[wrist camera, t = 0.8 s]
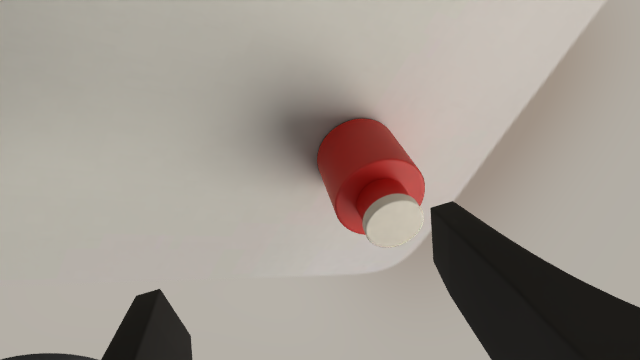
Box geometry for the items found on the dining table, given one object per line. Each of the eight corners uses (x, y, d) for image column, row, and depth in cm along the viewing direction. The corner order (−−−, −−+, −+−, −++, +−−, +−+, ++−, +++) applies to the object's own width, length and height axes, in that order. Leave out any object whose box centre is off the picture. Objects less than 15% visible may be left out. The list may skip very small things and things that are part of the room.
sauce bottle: (379, 191, 23) (420, 264, 18) (307, 183, 21) (333, 260, 17) (406, 124, 21) (459, 188, 16) (329, 111, 19) (364, 177, 15)
